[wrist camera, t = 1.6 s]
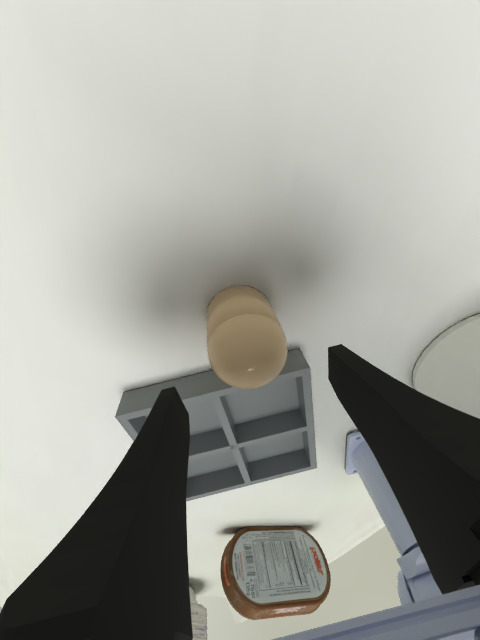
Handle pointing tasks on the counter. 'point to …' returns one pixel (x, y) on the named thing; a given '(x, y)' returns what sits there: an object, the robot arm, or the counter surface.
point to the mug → (452, 367)
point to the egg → (244, 338)
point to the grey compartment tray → (237, 427)
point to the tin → (274, 572)
